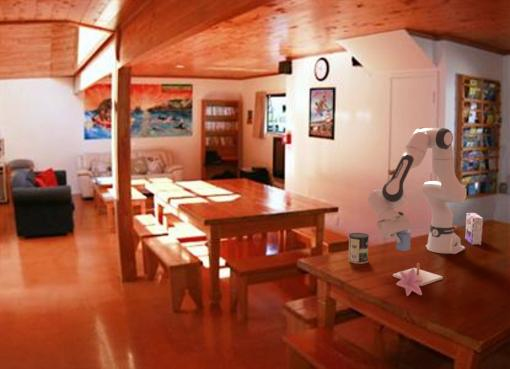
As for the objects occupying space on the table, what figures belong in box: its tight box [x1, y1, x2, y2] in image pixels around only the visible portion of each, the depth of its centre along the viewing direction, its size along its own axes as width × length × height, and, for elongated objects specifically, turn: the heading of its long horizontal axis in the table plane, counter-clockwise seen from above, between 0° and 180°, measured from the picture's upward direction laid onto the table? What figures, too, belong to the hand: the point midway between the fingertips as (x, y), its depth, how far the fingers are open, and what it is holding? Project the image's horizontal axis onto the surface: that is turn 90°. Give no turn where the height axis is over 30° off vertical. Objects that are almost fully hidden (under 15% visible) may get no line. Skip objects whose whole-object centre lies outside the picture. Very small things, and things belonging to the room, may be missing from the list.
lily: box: [395, 267, 423, 297], centre depth 213 cm, size 12×12×10 cm
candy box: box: [464, 212, 484, 246], centre depth 292 cm, size 14×6×16 cm, turn 172°
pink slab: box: [392, 262, 443, 287], centre depth 231 cm, size 16×16×7 cm
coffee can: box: [348, 232, 370, 265], centre depth 257 cm, size 10×10×14 cm
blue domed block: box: [395, 231, 412, 252], centre depth 243 cm, size 5×5×9 cm
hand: (404, 240), depth 243 cm, fingers closed on blue domed block, 5 cm apart
